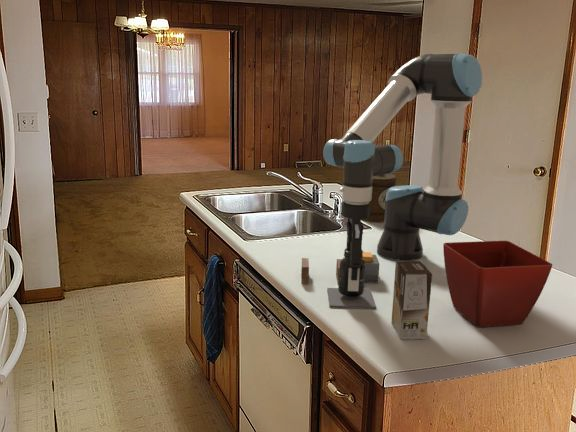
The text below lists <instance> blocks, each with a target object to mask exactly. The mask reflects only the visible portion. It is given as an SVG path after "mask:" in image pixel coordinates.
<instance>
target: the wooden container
mask: <svg viewBox="0 0 576 432" xmlns="http://www.w3.org/2000/svg"><path fill="white" fill-rule="evenodd" d="M396 183H397V176H396V175H395V174H393V173H389V174H382V175H377V176H373V179H372V199H371V201H370V204H371V212H370V217H368V218H366V219H362V220H361V221H365V222H369V223H384V218H385V203H386V201H385V200H386V194H387V190H388V189H389V188H391V187H395V186H396Z"/></svg>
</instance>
